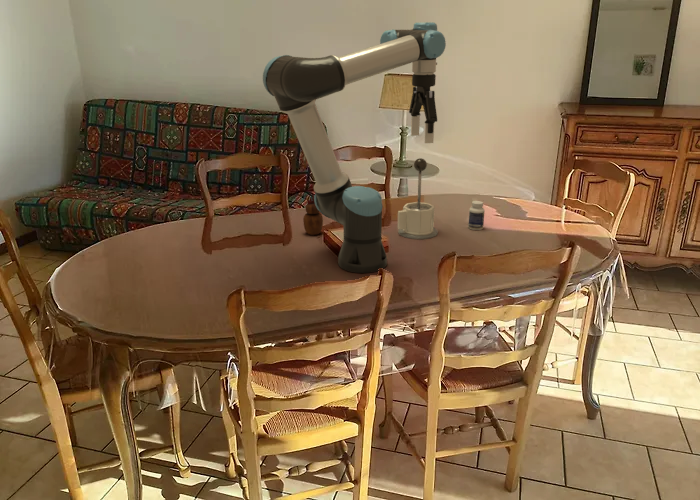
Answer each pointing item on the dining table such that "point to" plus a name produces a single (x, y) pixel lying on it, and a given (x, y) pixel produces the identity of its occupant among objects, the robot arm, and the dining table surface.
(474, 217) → the pill bottle
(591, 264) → the dining table surface
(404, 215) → the white faceted cup
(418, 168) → the plunger
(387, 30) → the robot arm
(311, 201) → the wooden figurine
